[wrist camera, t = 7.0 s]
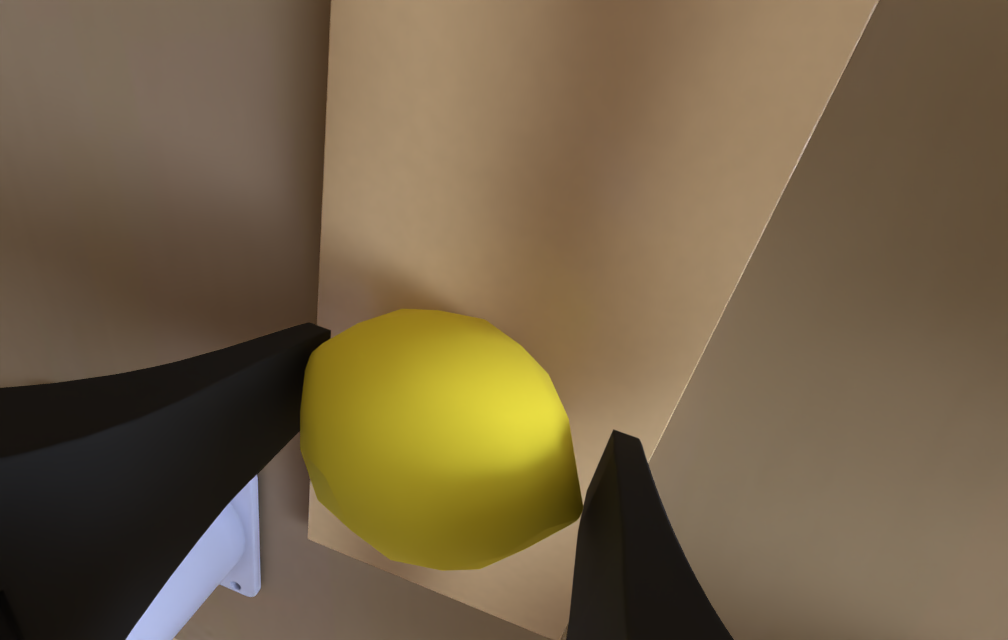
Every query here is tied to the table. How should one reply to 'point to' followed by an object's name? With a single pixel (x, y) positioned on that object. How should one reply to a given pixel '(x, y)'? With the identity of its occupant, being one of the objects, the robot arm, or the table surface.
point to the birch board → (563, 202)
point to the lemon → (437, 440)
